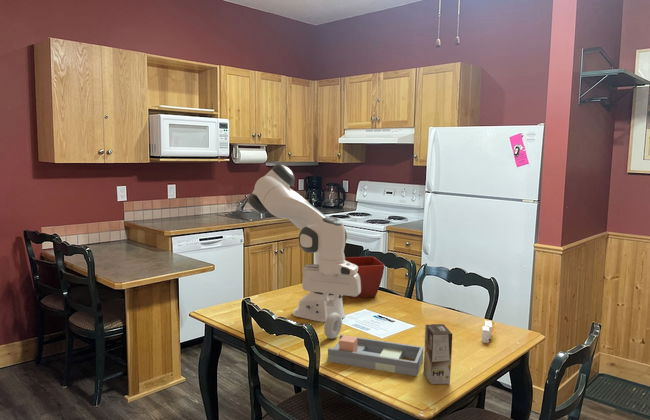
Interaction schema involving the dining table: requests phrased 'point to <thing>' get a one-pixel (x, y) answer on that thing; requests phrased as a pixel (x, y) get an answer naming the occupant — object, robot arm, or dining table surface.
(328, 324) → the grey wheel
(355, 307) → the dining table surface
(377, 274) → the plant pot
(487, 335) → the napkin holder
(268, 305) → the dining table surface
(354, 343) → the block
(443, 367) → the coffee box
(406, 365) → the tray
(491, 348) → the dining table surface
